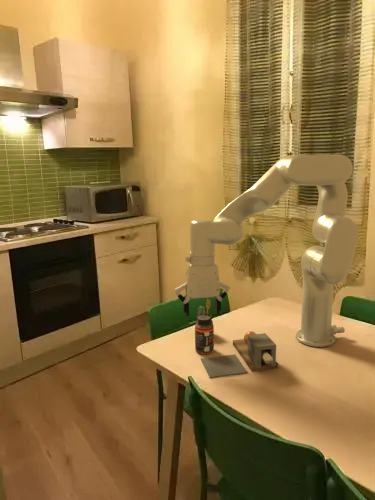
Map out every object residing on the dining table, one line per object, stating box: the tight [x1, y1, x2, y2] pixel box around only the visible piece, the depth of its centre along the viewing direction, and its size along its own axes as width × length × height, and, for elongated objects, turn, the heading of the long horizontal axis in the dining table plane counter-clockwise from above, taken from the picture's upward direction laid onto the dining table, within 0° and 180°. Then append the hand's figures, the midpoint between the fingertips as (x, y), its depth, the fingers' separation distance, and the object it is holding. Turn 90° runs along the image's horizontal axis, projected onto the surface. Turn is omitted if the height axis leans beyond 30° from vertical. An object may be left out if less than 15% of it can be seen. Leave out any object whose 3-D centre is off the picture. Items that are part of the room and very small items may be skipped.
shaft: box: [243, 330, 273, 365], centre depth 117 cm, size 15×4×4 cm, turn 11°
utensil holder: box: [195, 298, 214, 325], centre depth 137 cm, size 6×6×12 cm
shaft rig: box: [232, 332, 279, 373], centre depth 121 cm, size 19×8×8 cm, turn 11°
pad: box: [200, 354, 248, 379], centre depth 116 cm, size 11×11×1 cm
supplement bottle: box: [194, 315, 215, 355], centre depth 125 cm, size 6×6×11 cm
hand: (202, 313), depth 123 cm, fingers open, 9 cm apart
